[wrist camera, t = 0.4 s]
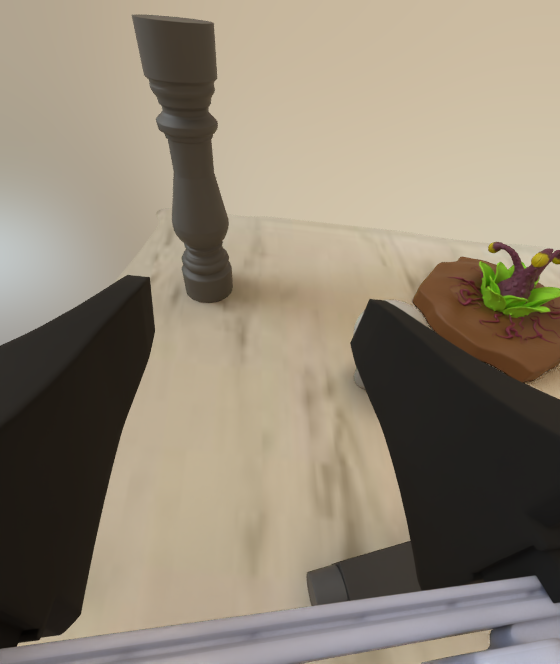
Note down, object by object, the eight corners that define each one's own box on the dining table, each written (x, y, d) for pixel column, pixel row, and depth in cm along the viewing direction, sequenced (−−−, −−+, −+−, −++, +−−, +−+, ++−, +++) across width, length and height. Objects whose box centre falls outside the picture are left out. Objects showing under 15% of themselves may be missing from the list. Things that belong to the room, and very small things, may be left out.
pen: (450, 529, 23) (469, 523, 21) (471, 571, 21) (493, 569, 19) (304, 572, 20) (309, 570, 19) (315, 623, 19) (322, 626, 17)
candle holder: (241, 285, 40) (234, 25, 22) (209, 309, 37) (168, 22, 18) (209, 267, 43) (177, 16, 24) (176, 288, 39) (108, 12, 20)
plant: (388, 303, 40) (424, 227, 32) (457, 258, 50) (499, 190, 41) (541, 409, 31) (649, 341, 22) (591, 329, 40) (682, 260, 32)
